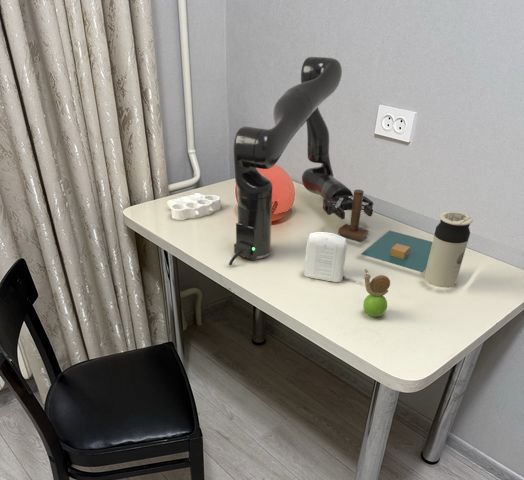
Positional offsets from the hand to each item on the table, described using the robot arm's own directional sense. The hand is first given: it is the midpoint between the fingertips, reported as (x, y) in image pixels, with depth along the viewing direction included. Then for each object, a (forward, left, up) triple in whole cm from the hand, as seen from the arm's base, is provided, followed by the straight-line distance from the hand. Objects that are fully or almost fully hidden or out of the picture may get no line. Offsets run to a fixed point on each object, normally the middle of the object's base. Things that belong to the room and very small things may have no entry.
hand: (357, 214), depth 143 cm
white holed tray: (-10, +54, -9) cm, 56 cm away
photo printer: (-24, -3, -9) cm, 26 cm away
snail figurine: (-33, -21, -9) cm, 40 cm away
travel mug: (-9, -29, -9) cm, 32 cm away
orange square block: (-2, -15, -7) cm, 17 cm away
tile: (+2, -15, -9) cm, 17 cm away
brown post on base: (+1, +1, -9) cm, 9 cm away
